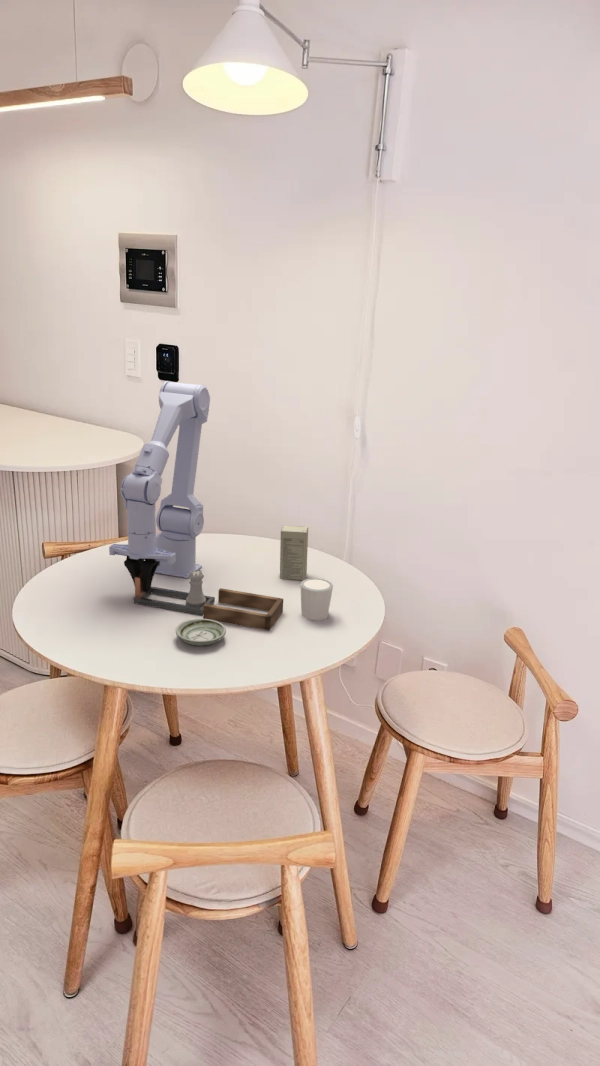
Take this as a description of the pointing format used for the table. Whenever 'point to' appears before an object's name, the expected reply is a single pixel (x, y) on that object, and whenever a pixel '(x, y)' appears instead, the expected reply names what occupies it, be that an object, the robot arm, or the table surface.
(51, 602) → the table surface
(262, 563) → the table surface
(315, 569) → the table surface
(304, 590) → the shot glass
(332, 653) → the table surface
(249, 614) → the walnut lane
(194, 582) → the rook chess piece
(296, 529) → the skincare box
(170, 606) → the frame
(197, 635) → the saucer
